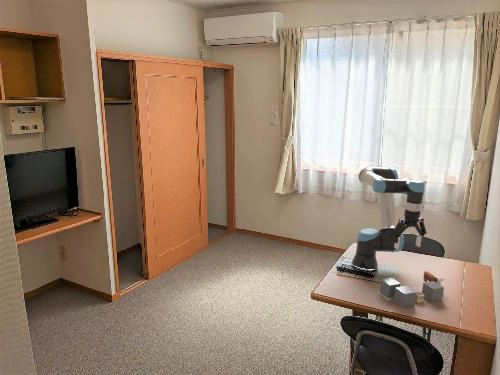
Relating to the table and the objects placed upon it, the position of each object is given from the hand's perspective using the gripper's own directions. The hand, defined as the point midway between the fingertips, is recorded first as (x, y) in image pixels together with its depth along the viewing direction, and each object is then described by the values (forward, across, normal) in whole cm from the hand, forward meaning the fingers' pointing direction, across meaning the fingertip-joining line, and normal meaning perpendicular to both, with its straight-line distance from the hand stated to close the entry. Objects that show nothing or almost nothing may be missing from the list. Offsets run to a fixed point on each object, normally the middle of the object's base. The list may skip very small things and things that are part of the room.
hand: (407, 247), depth 206 cm
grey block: (+24, -9, -14) cm, 29 cm away
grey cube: (+24, +9, -14) cm, 29 cm away
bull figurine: (+24, +17, -4) cm, 30 cm away
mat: (+24, -12, -6) cm, 27 cm away
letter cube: (+24, 0, -14) cm, 28 cm away
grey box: (+23, -12, -6) cm, 27 cm away
